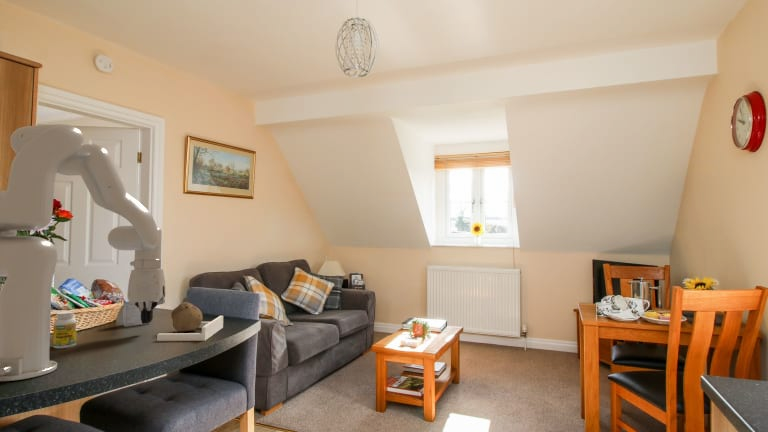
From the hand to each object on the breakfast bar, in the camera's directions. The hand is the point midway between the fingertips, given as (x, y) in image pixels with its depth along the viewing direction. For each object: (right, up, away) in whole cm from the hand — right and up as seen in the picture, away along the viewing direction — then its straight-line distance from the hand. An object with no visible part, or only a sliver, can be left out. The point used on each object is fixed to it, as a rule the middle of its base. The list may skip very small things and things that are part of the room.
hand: (146, 322), depth 142 cm
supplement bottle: (-15, -3, -15) cm, 22 cm away
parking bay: (+14, -4, +1) cm, 14 cm away
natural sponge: (+6, +2, +3) cm, 7 cm away
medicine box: (-11, -4, +14) cm, 18 cm away
